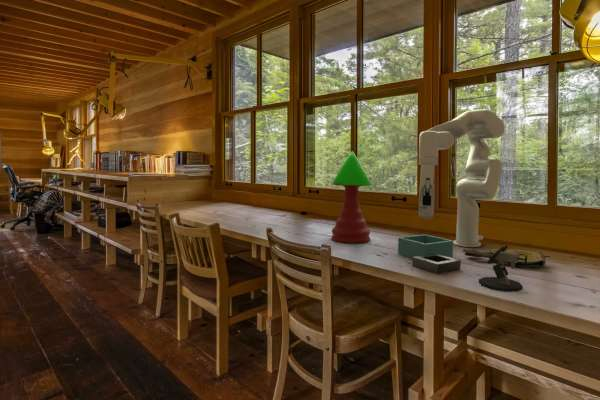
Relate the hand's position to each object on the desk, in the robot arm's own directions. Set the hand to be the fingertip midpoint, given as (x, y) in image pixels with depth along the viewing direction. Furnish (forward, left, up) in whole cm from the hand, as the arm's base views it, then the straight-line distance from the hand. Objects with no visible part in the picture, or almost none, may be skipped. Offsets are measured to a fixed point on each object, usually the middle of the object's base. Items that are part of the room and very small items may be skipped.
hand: (426, 204), depth 162 cm
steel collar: (+11, +16, -22) cm, 29 cm away
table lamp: (+8, -42, -22) cm, 48 cm away
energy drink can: (0, 0, -6) cm, 6 cm away
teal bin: (0, 0, -22) cm, 22 cm away
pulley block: (-20, +23, -22) cm, 38 cm away
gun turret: (+9, +37, -22) cm, 45 cm away
